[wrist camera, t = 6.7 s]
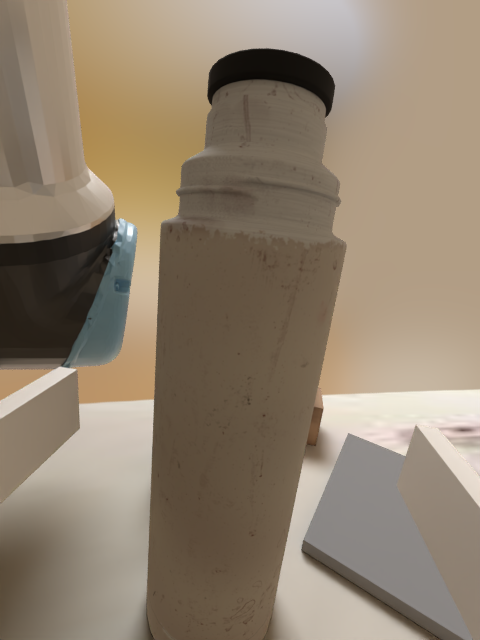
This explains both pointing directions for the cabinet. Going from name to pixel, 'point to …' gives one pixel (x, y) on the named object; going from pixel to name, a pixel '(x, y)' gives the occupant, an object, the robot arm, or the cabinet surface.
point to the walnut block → (315, 419)
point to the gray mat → (380, 539)
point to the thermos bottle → (240, 345)
